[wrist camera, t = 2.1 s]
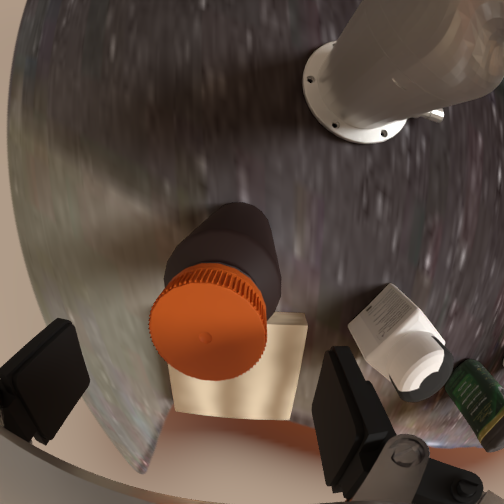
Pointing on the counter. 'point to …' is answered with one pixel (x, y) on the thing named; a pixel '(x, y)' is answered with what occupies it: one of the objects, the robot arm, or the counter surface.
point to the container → (402, 345)
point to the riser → (251, 378)
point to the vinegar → (218, 296)
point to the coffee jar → (479, 402)
